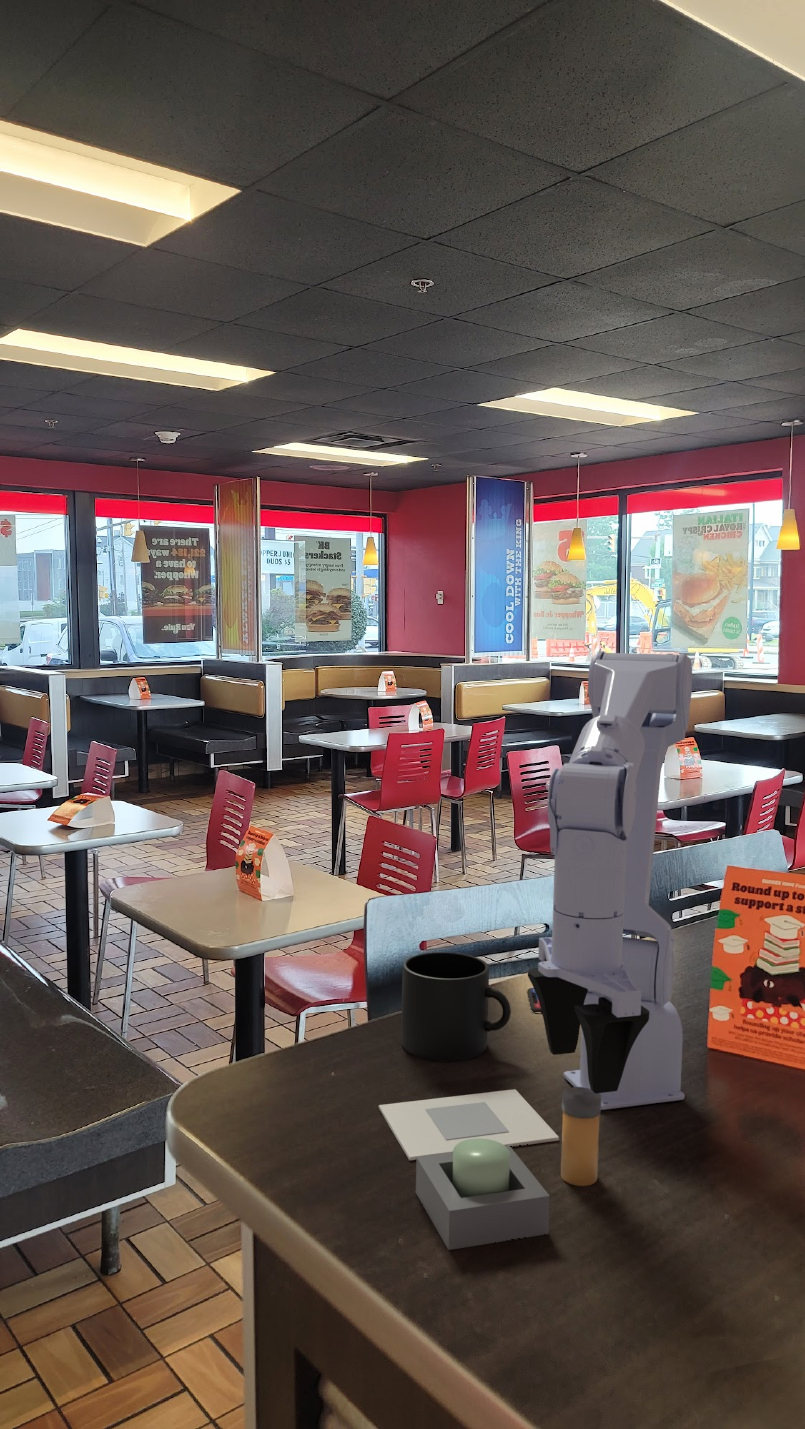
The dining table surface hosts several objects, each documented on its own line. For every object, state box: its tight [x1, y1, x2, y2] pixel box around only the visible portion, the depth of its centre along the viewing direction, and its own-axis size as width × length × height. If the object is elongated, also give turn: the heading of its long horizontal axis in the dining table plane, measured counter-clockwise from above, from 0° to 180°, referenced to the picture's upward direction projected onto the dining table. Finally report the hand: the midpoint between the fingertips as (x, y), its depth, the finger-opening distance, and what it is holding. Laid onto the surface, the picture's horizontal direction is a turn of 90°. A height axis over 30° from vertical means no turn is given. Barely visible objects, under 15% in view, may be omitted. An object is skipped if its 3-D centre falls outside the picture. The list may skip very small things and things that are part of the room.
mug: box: [400, 951, 512, 1063], centre depth 112 cm, size 9×12×9 cm
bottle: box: [560, 1086, 602, 1187], centre depth 86 cm, size 3×3×7 cm
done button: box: [452, 1138, 510, 1198], centre depth 80 cm, size 4×4×3 cm
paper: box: [378, 1088, 560, 1162], centre depth 95 cm, size 14×10×1 cm
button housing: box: [415, 1145, 551, 1251], centre depth 80 cm, size 8×8×3 cm
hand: (582, 1070), depth 85 cm, fingers open, 7 cm apart
